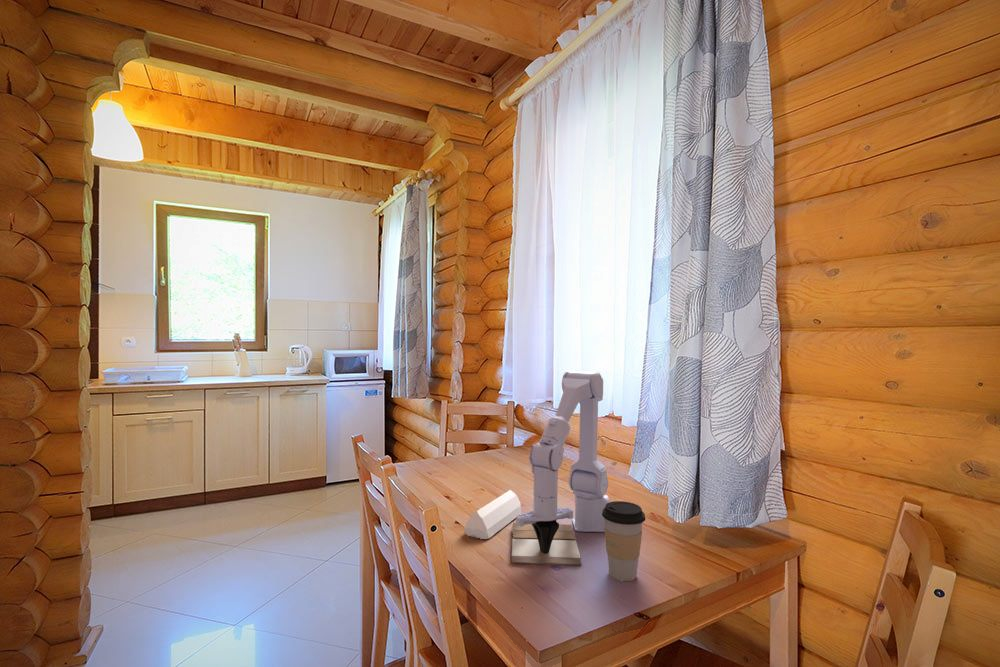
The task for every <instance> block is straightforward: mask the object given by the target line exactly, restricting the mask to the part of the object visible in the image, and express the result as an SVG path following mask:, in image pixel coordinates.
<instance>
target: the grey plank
mask: <svg viewBox="0 0 1000 667" xmlns="http://www.w3.org/2000/svg"><path fill="white" fill-rule="evenodd" d="M511 547H512V562H522V563H556V564H581V565H582V558H581V554H580V550H579V546H578V543H577V540H575V541H574V540H552V543H551V547H550V550H549V553H546V554H544V553H542V552H541V551H540V547H539V542H538V540H537V539H512V538H511Z"/></svg>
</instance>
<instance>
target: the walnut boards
mask: <svg viewBox="0 0 1000 667" xmlns="http://www.w3.org/2000/svg"><path fill="white" fill-rule="evenodd" d="M512 526H513V537H512V536H511V540H512V539H537V540H538V538H537V535H536V532H535V530H534V528H533V526H532V524H526V525H524V526H522V527H519V526H518V525H517V524H516V522H513V523H512ZM553 540H574V541H576V535H575V532H574V527H573V525H572V524H561V523H559V529H558V530H557V532H556V533H555V535H554V538H553Z"/></svg>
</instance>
